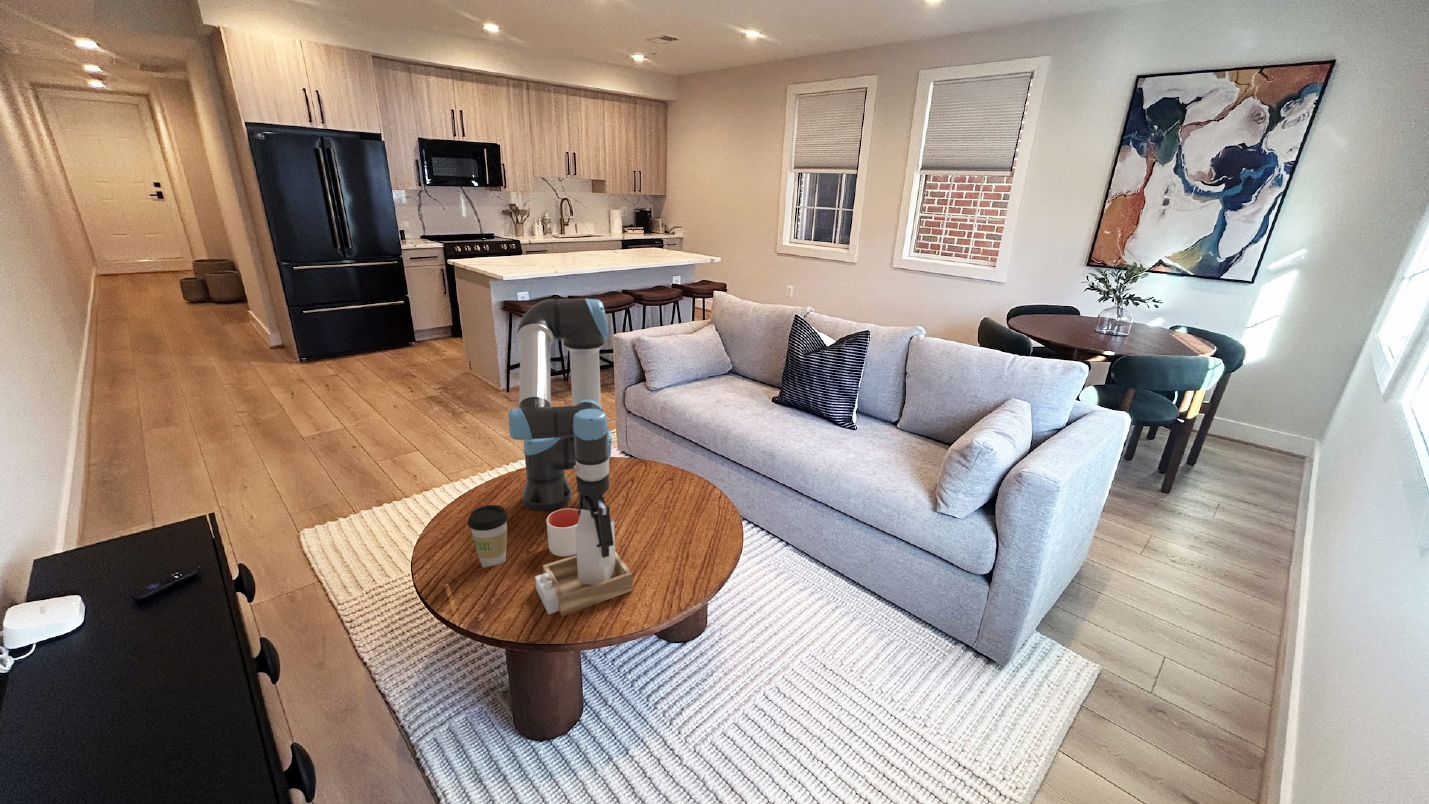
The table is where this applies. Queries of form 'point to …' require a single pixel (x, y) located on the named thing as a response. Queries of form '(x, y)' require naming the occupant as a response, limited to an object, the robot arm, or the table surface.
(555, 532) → the cup
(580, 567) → the milk carton
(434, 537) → the table surface
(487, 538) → the coffee cup
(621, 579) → the crate
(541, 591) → the egg box
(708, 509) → the table surface
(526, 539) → the table surface
